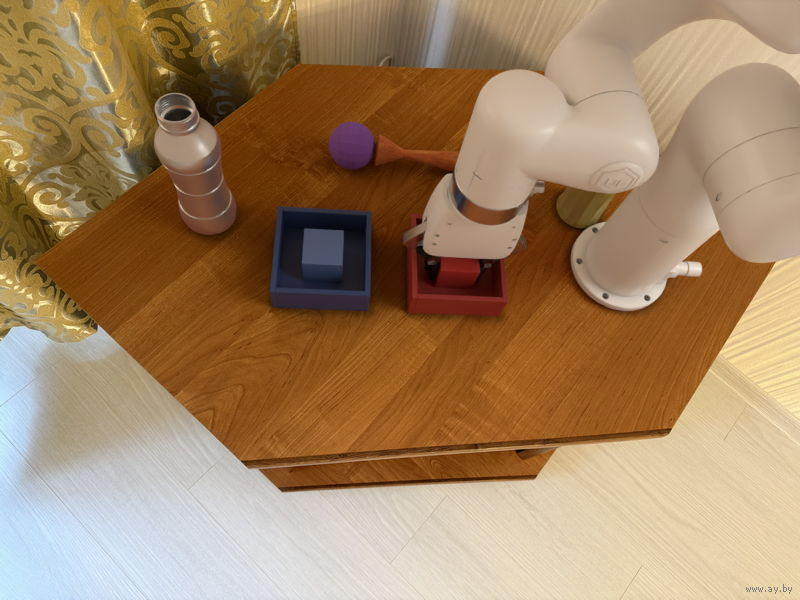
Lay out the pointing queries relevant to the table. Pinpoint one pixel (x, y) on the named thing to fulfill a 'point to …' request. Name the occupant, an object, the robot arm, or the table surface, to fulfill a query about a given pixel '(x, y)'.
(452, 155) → the kendama
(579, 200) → the vase
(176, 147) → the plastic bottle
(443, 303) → the red bin
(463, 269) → the red block
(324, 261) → the blue block
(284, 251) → the blue bin
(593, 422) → the table surface
